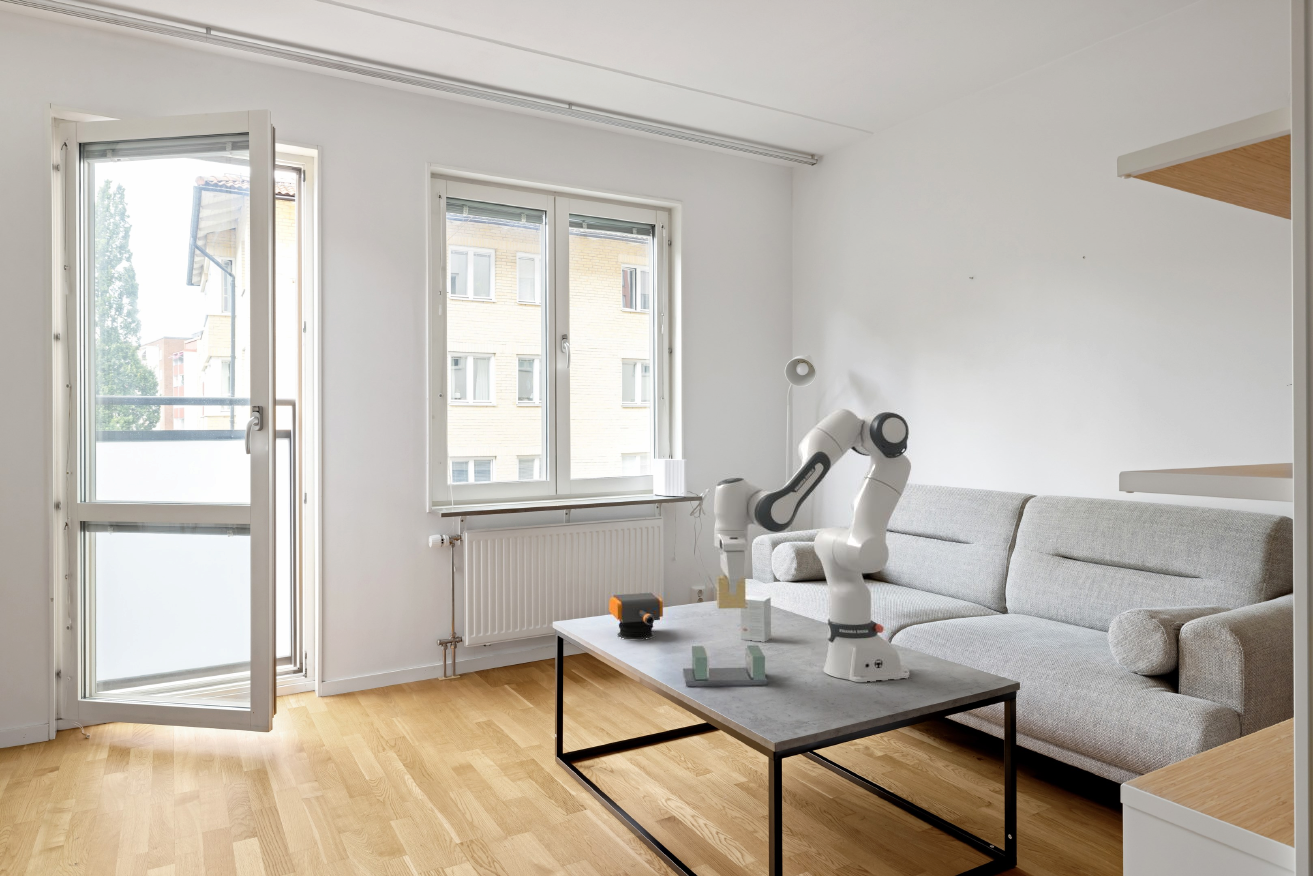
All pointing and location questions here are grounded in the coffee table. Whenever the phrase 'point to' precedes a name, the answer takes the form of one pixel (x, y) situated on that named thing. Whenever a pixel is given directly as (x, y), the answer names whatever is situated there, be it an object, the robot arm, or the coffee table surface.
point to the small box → (756, 618)
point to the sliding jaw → (700, 662)
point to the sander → (636, 614)
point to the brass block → (726, 598)
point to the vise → (734, 672)
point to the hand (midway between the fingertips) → (731, 591)
